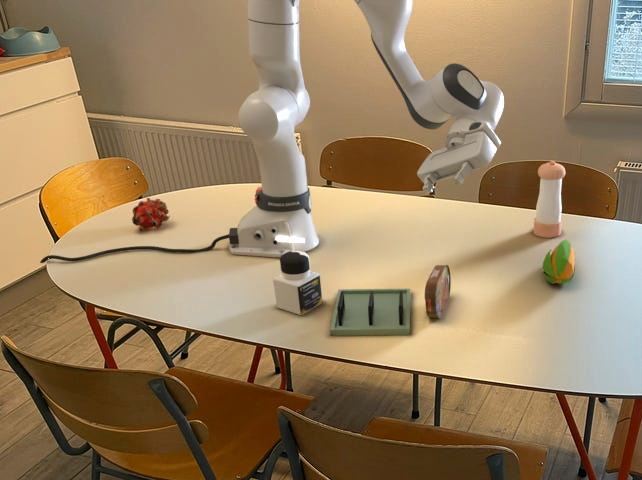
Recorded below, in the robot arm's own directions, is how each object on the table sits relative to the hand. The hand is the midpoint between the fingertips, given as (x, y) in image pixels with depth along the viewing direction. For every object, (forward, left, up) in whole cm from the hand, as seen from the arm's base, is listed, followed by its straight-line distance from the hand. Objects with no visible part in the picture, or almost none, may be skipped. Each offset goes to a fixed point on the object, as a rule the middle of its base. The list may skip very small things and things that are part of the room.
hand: (441, 186), depth 160 cm
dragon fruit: (-77, +35, -22) cm, 88 cm away
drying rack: (-15, -16, -22) cm, 31 cm away
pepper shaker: (+29, +29, -22) cm, 47 cm away
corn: (+28, +3, -22) cm, 36 cm away
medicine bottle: (-31, -12, -22) cm, 40 cm away
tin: (-1, -14, -22) cm, 26 cm away
